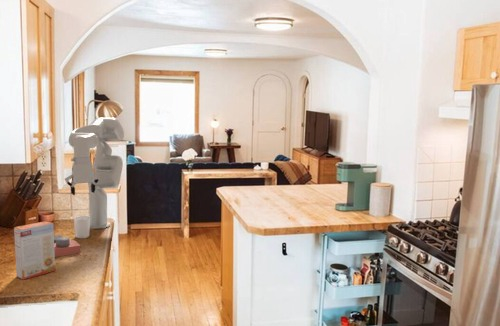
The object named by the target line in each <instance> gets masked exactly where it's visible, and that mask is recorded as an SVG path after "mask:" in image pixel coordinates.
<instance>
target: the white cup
mask: <svg viewBox="0 0 500 326" xmlns="http://www.w3.org/2000/svg"><path fill="white" fill-rule="evenodd" d="M73 220H74V221H73V222H74V223H73V225H74V233H75V238H77V239H86V238H89V237H90V230H91V228H90V216H89V215H88V216H87V215H82V216H81V215H80V216H75V217H74V218H73Z"/></svg>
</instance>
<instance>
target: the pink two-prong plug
mask: <svg viewBox="0 0 500 326" xmlns="http://www.w3.org/2000/svg"><path fill="white" fill-rule="evenodd" d="M62 237H63V238H58V239H56V243H54V252H55V258H56V257H57V258H58V257H62V256H67V255H74V254H81V253H82V250H81V248H82V247H81V246H82V245H81V244H80V243H78V241H76V240H74V239H72V240H71V239H70V237H65V236H62Z"/></svg>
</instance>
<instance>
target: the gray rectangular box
mask: <svg viewBox="0 0 500 326" xmlns="http://www.w3.org/2000/svg"><path fill="white" fill-rule="evenodd" d="M63 237H64V236H61V234H57V235H54V243H56V239H58V238H63Z"/></svg>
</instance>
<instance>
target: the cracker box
mask: <svg viewBox="0 0 500 326" xmlns="http://www.w3.org/2000/svg"><path fill="white" fill-rule="evenodd" d="M13 232H14V234H13V235H14V252H15V272H16V274H15V275H16V277H17V278H19V279H21V280H27V279H30V278H34V277H37V276H38V277H39V276H41V275H44V274H48V273H51V272H56V259H55V258H56V257H55V252H54V236H55V233H54V223H53V222H51V221H48V220H46V221H45V220H44V221H40V222H35V223H30V224H24V225H19V226H18V225H17V226H15V227H13Z"/></svg>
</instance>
